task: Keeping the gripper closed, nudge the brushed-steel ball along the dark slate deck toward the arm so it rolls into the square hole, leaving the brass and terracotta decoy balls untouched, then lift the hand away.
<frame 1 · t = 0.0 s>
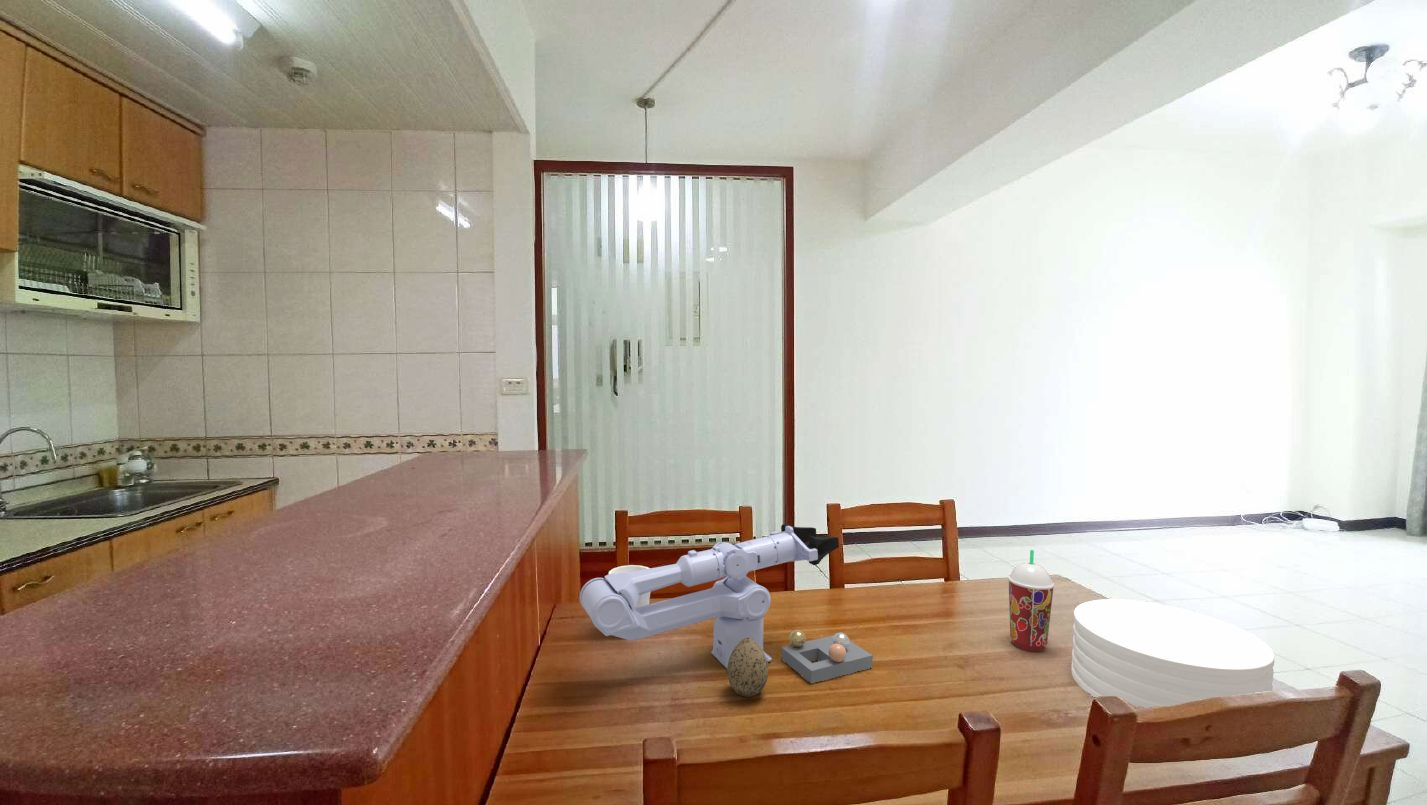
hand: (826, 537, 124), 22 cm above the table, tool horizontal, fingers open, 7 cm apart
plate stack: (1162, 693, 106), on the table
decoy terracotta: (837, 652, 111), point 4 cm above the table, touching deck
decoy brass: (797, 638, 116), point 4 cm above the table, touching deck
deck: (826, 663, 115), on the table
decorative egg: (747, 695, 104), on the table
steel ball: (840, 641, 115), point 4 cm above the table, touching deck
smoothie: (1028, 646, 123), on the table
foam cup: (630, 632, 128), on the table
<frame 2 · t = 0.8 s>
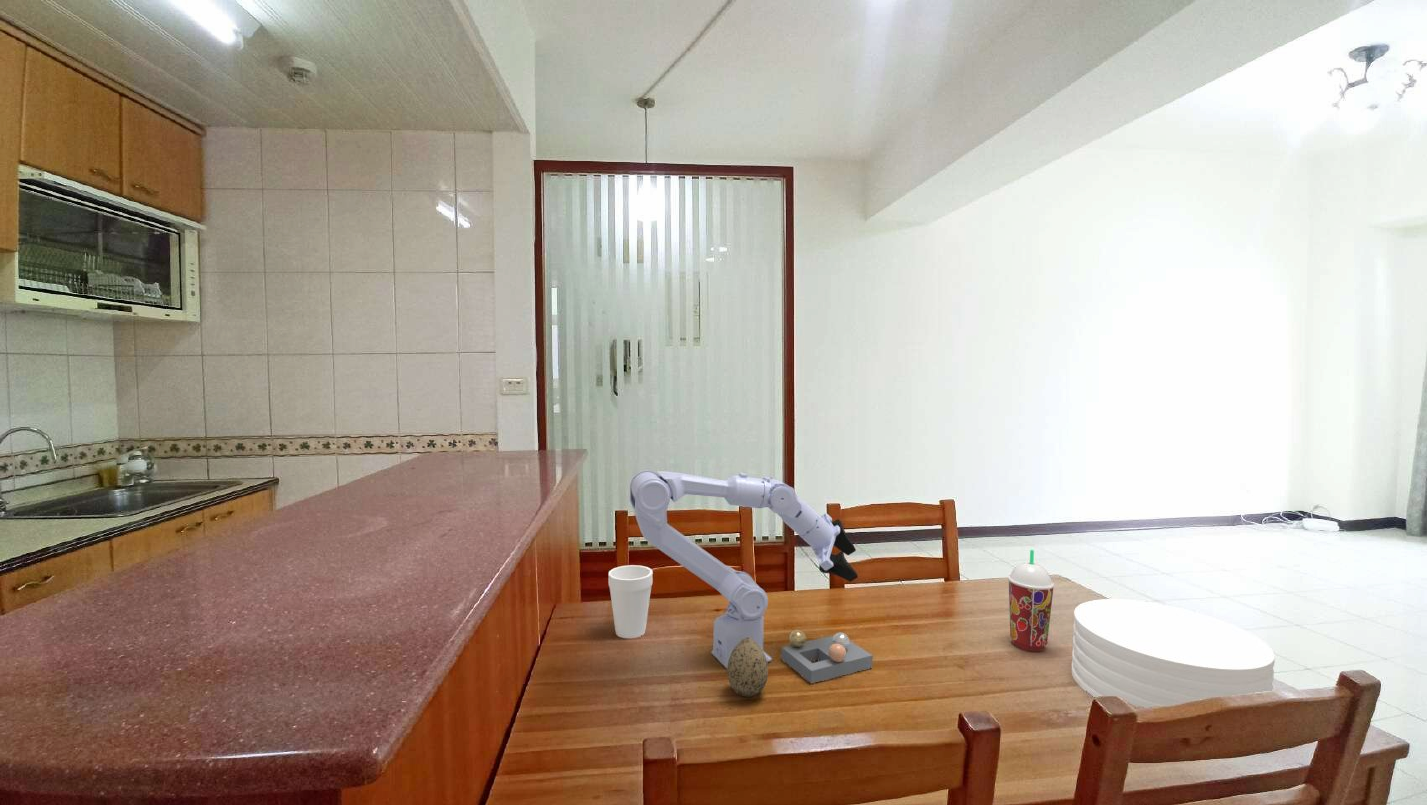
hand: (852, 565, 122), 17 cm above the table, tool tilted 50°, fingers open, 7 cm apart
nothing on the table moved.
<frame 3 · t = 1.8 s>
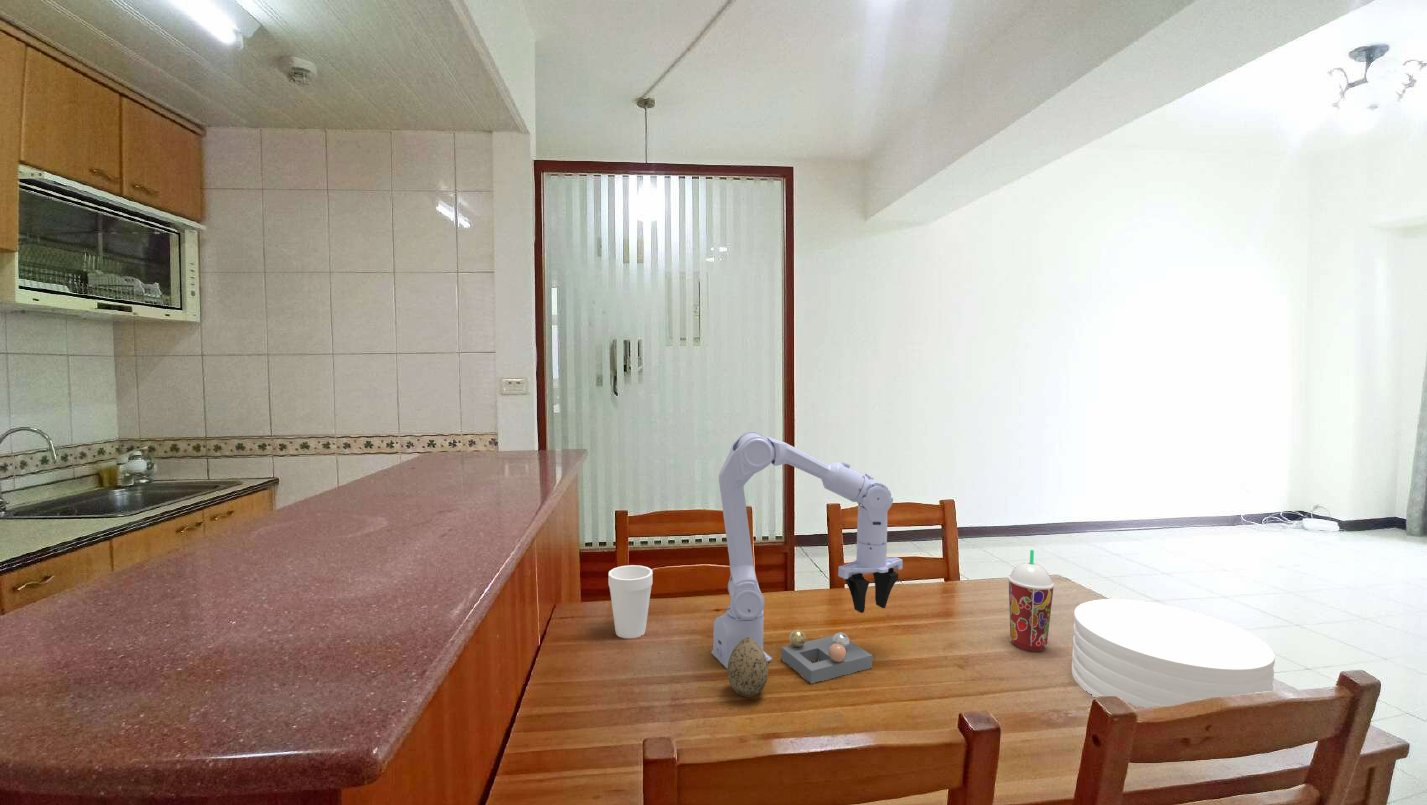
hand: (870, 608, 118), 9 cm above the table, tool pointing down, fingers open, 5 cm apart
nothing on the table moved.
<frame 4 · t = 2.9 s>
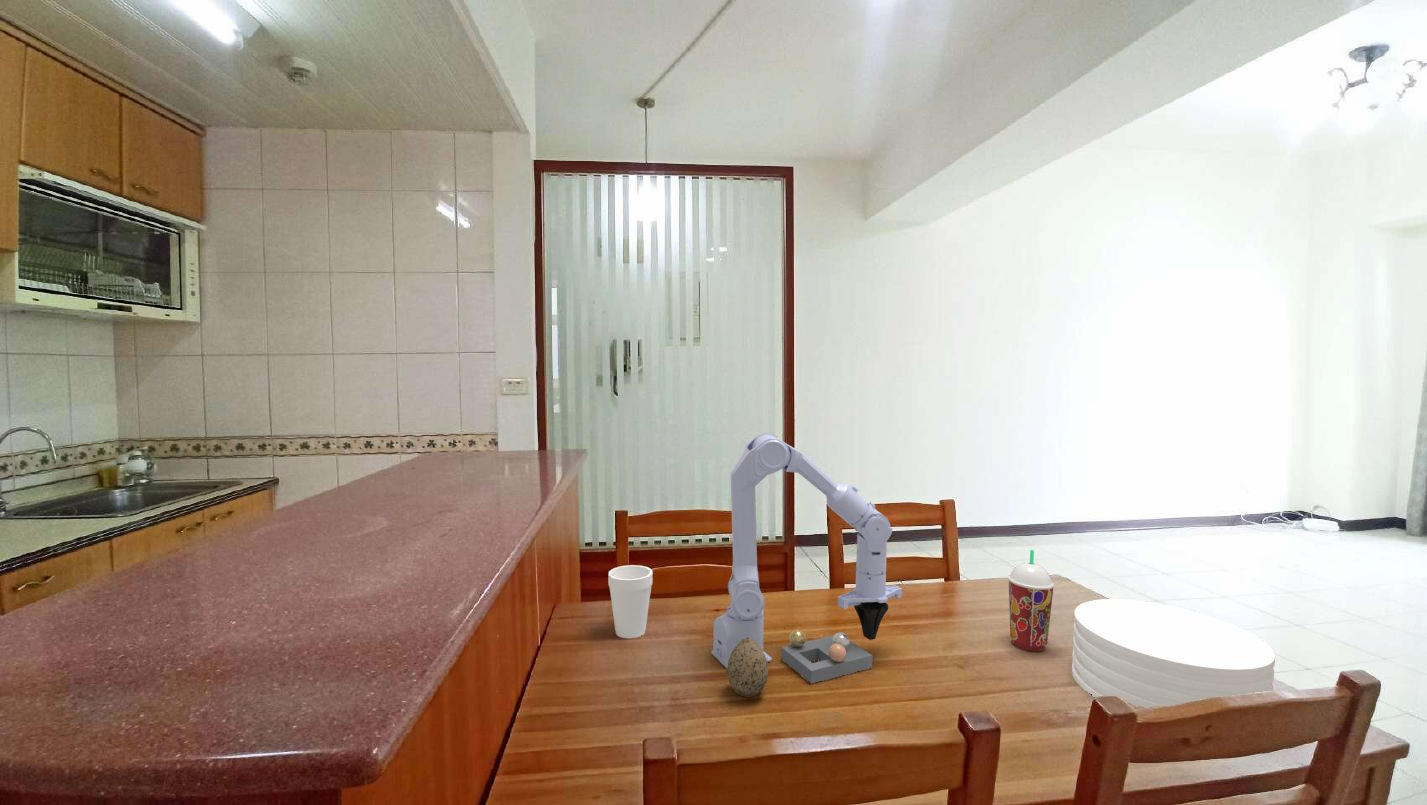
hand: (869, 637, 118), 4 cm above the table, tool pointing down, fingers closed
nothing on the table moved.
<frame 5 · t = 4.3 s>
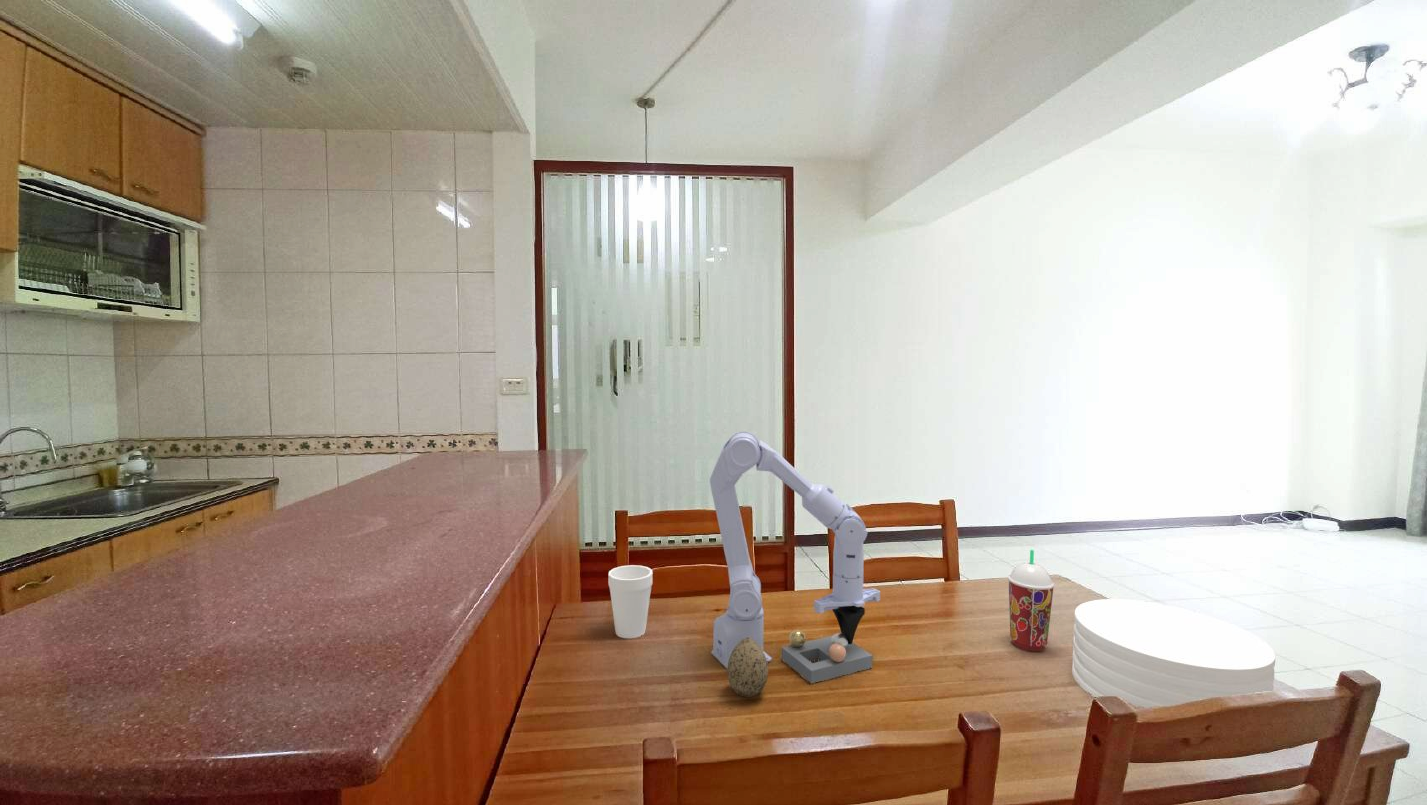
hand: (847, 642, 116), 4 cm above the table, tool pointing down, fingers closed, pressing on steel ball
steel ball: (839, 641, 115), point 4 cm above the table, tilted 13°, touching deck, gripper
everything else where it was.
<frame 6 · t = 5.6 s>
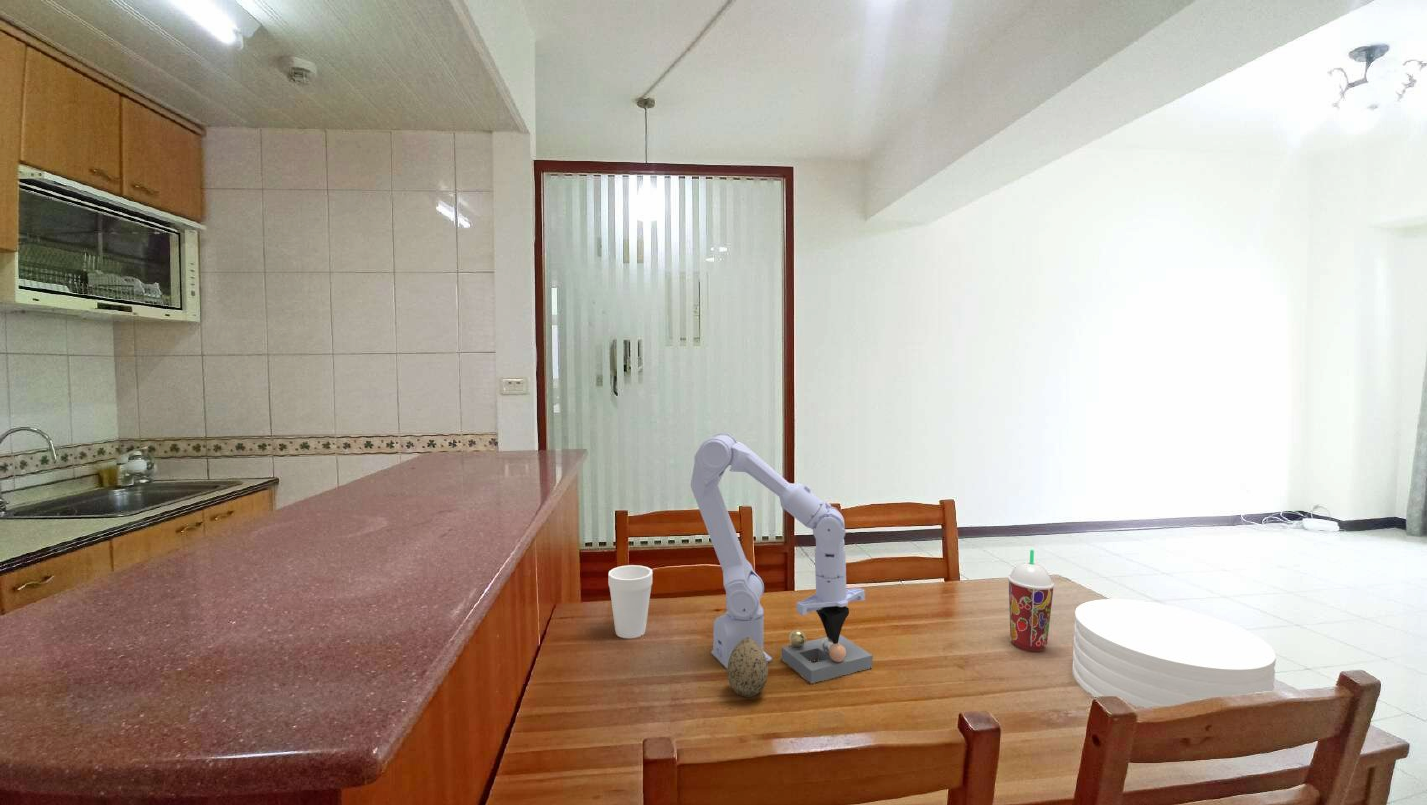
hand: (832, 643, 113), 4 cm above the table, tool pointing down, fingers closed, pressing on steel ball
steel ball: (830, 645, 114), point 4 cm above the table, tilted 99°, touching deck, gripper
everything else where it was.
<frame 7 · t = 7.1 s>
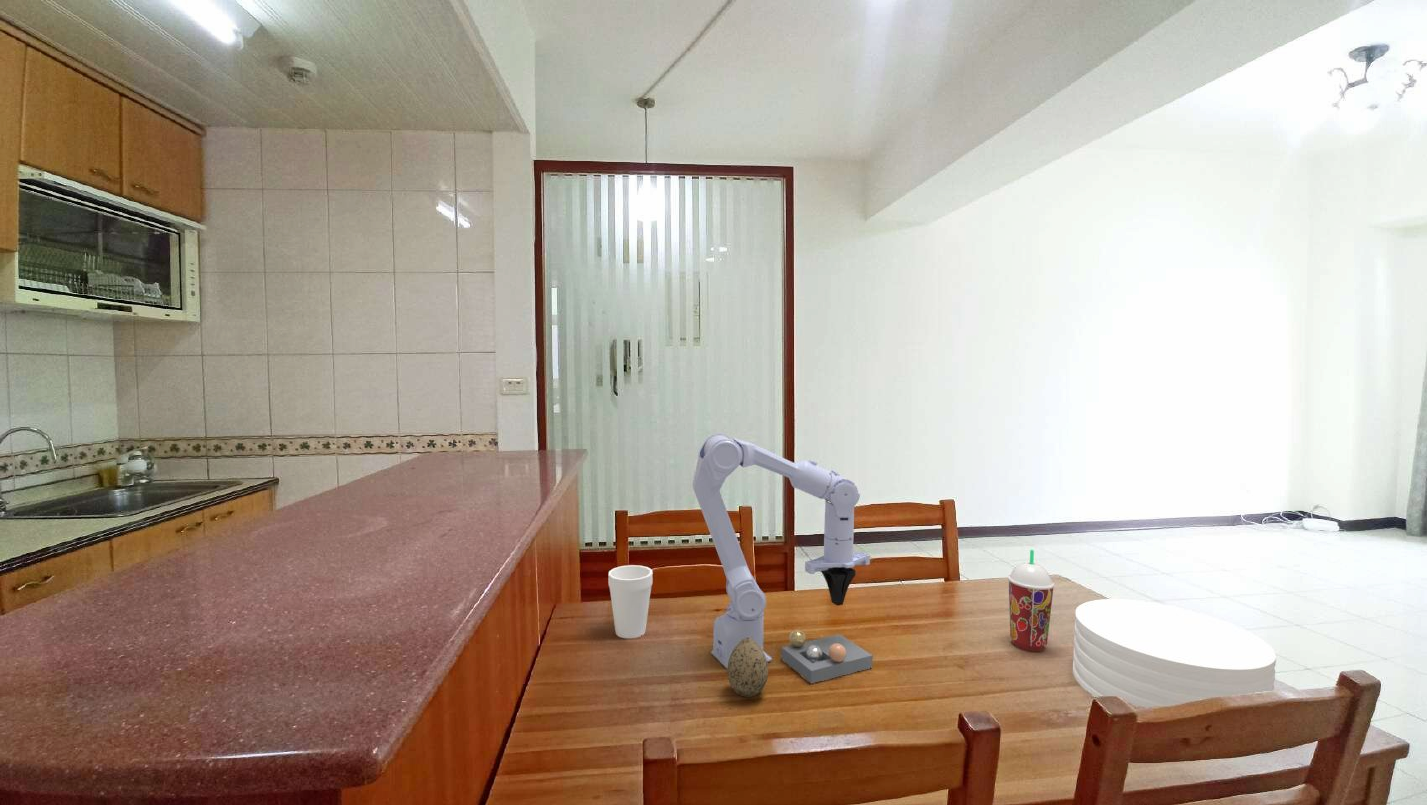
hand: (837, 603, 119), 10 cm above the table, tool pointing down, fingers closed
steel ball: (814, 654, 113), point 2 cm above the table, tilted 154°
everything else where it was.
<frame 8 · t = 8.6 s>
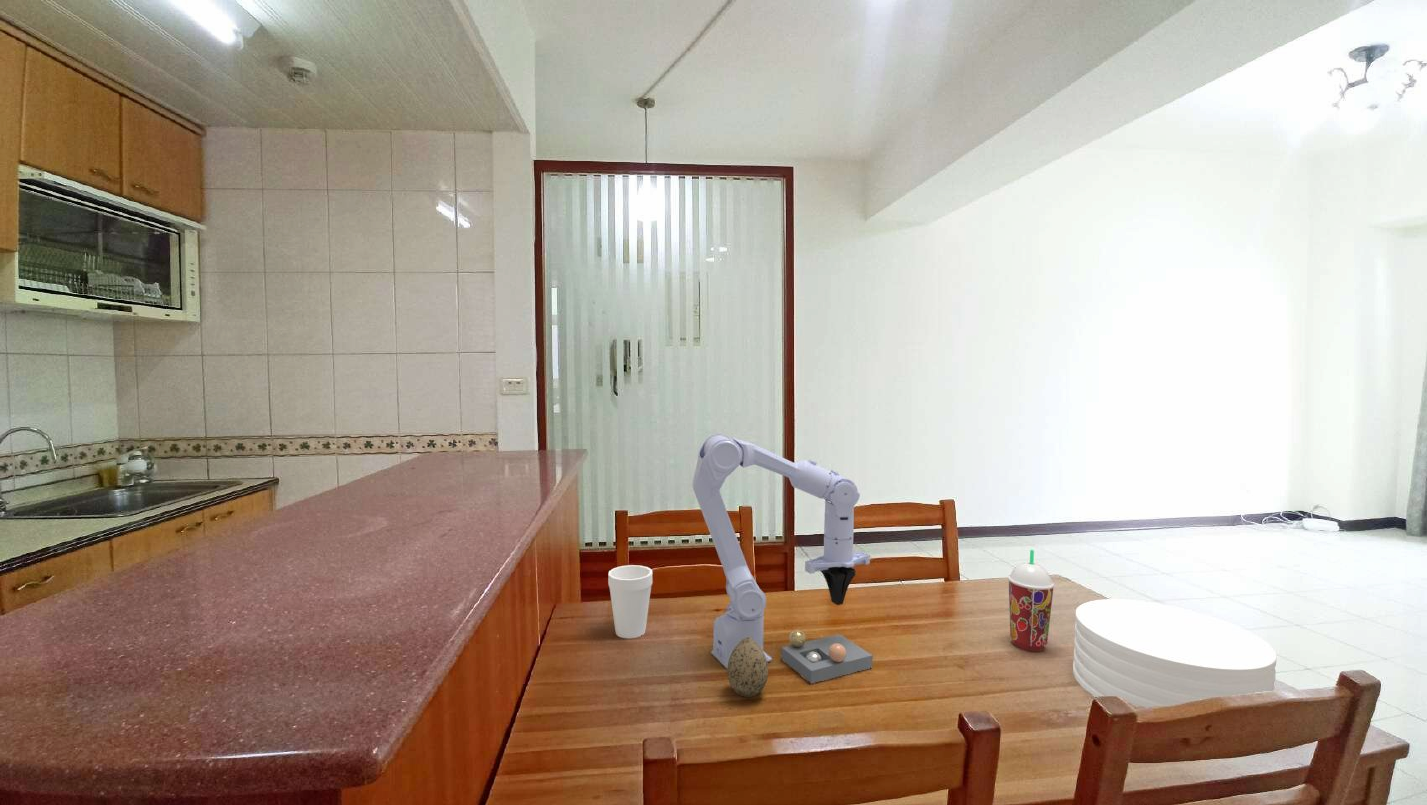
hand: (837, 603, 119), 10 cm above the table, tool pointing down, fingers closed
steel ball: (813, 660, 113), point 2 cm above the table, tilted 110°
everything else where it was.
at the end: steel ball 0.4 cm from the target spot in the deck, point 1.6 cm above the deck's base; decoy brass moved 0.1 cm from its start; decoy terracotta moved 0.1 cm from its start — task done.
